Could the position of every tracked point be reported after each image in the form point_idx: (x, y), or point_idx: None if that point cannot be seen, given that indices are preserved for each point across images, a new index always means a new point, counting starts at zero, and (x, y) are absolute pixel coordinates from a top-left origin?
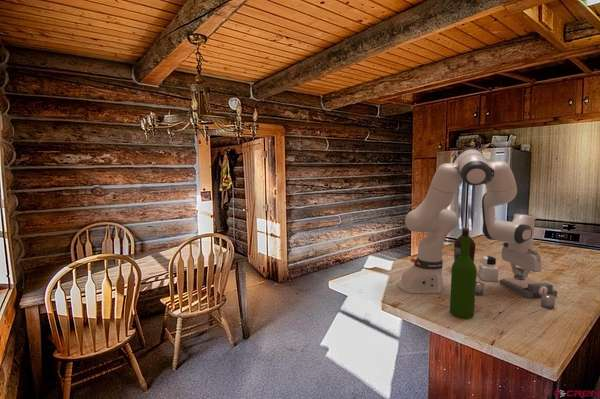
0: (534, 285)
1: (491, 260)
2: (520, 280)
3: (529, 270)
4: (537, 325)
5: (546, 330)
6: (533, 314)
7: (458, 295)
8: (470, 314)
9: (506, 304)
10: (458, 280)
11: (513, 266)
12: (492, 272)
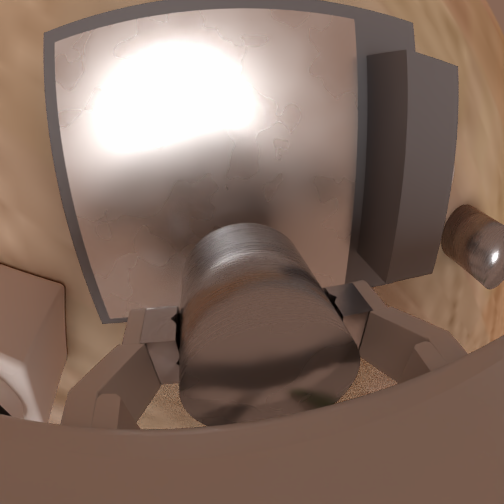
0: (424, 249)
1: None
2: (159, 184)
3: (448, 349)
4: (478, 344)
5: (493, 335)
6: (457, 326)
7: None
8: None
9: (377, 377)
10: None
11: (128, 404)
12: (44, 369)
